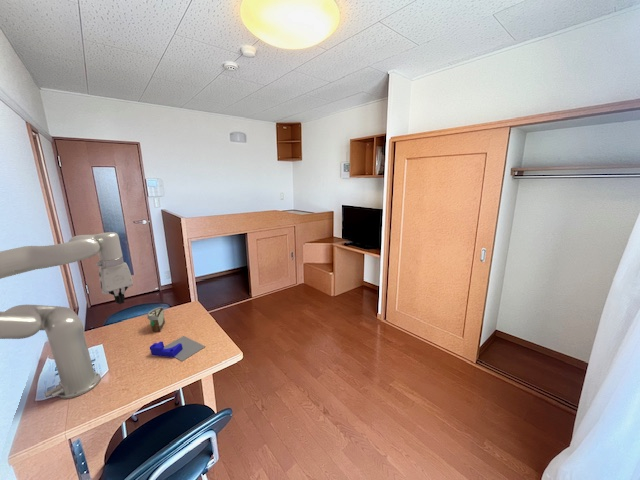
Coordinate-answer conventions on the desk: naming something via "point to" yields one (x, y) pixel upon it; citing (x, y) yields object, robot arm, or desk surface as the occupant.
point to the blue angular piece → (165, 350)
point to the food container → (157, 319)
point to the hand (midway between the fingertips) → (120, 302)
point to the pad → (185, 347)
